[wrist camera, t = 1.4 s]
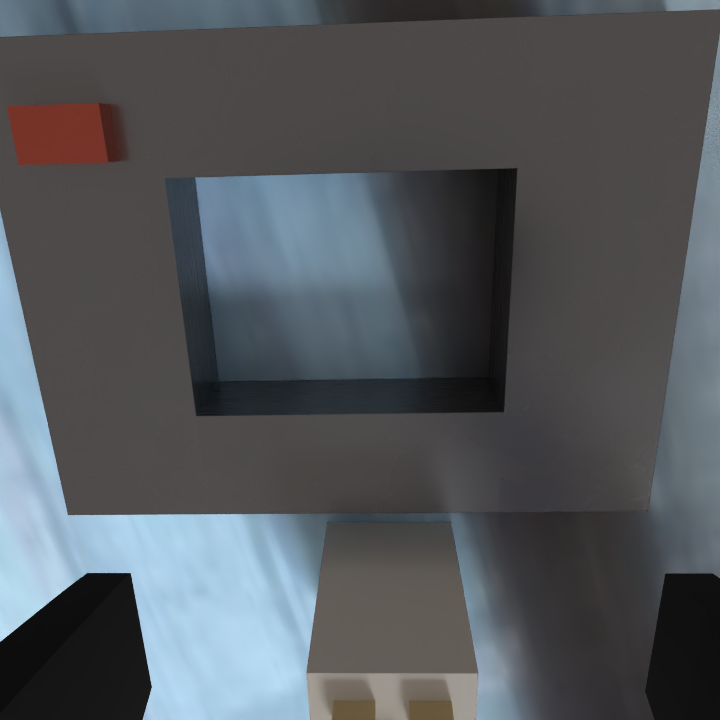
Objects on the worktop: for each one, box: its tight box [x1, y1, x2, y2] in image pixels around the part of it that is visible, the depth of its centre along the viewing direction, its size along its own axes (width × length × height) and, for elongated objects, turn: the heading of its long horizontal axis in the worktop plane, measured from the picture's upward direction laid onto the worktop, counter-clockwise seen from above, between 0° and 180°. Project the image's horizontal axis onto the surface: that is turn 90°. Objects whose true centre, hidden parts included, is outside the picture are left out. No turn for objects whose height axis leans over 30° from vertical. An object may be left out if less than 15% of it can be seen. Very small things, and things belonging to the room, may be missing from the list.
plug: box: [306, 522, 478, 720], centre depth 18 cm, size 4×4×7 cm
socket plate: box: [0, 9, 720, 515], centre depth 16 cm, size 16×12×3 cm
